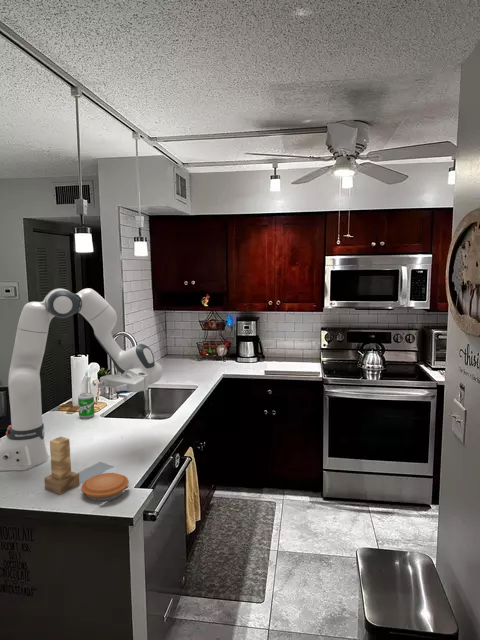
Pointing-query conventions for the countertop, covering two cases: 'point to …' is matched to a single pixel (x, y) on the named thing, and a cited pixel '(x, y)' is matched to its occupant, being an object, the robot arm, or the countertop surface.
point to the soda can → (86, 405)
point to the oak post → (60, 457)
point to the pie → (105, 486)
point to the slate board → (93, 471)
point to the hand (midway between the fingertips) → (107, 387)
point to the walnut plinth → (61, 483)
